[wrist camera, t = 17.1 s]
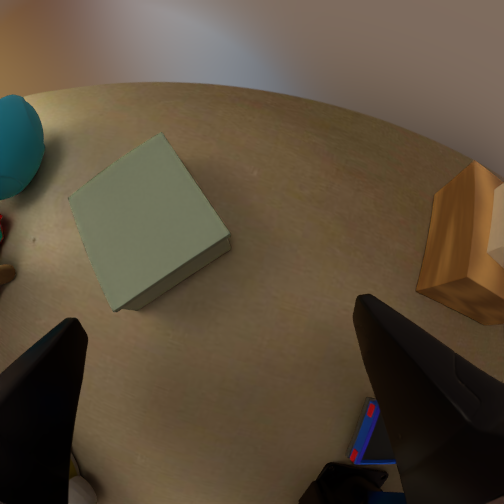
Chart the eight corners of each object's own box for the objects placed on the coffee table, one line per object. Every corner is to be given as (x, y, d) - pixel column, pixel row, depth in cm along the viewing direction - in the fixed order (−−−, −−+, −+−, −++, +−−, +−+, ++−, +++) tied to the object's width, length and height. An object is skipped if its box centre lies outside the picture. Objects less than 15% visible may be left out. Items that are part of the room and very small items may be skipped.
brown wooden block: (497, 236, 21) (538, 215, 15) (484, 325, 19) (534, 320, 12) (434, 194, 22) (474, 159, 16) (415, 291, 20) (467, 276, 14)
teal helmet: (31, 129, 26) (-13, 81, 15) (80, 133, 25) (28, 67, 14) (-10, 207, 23) (-67, 172, 12) (31, 229, 22) (-46, 185, 11)
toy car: (444, 453, 16) (472, 469, 11) (339, 457, 17) (357, 486, 12) (466, 392, 18) (499, 399, 13) (364, 385, 19) (392, 400, 14)
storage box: (235, 249, 21) (230, 233, 18) (136, 314, 20) (112, 312, 16) (173, 157, 24) (161, 131, 20) (90, 214, 23) (67, 197, 19)
